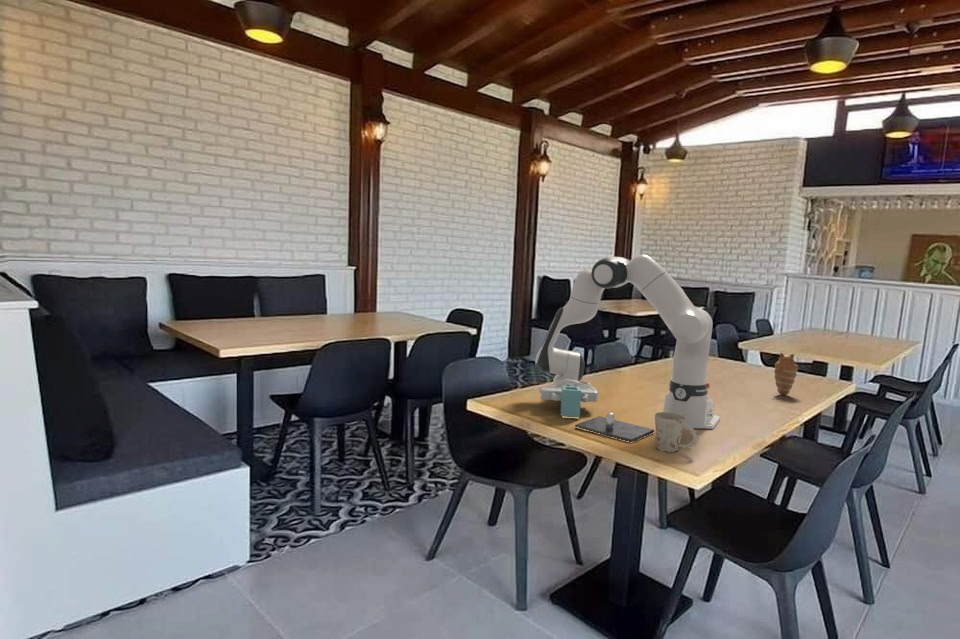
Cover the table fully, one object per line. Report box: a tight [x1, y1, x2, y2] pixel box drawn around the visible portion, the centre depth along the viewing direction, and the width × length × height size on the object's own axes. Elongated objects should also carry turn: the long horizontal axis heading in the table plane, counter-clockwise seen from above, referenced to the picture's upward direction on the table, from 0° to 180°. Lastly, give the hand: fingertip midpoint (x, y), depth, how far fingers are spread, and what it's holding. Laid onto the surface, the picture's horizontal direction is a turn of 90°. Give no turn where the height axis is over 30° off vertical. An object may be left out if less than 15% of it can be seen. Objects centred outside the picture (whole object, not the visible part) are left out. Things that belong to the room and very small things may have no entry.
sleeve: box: [560, 386, 582, 418], centre depth 202 cm, size 6×6×10 cm
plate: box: [574, 412, 655, 443], centre depth 187 cm, size 15×20×6 cm
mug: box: [654, 411, 698, 453], centre depth 169 cm, size 8×13×10 cm, turn 51°
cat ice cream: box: [774, 352, 799, 396], centre depth 245 cm, size 9×8×18 cm
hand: (570, 399), depth 202 cm, fingers open, 8 cm apart
